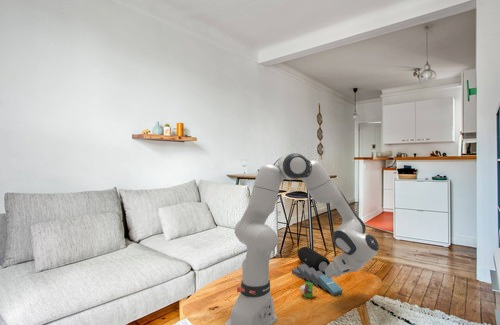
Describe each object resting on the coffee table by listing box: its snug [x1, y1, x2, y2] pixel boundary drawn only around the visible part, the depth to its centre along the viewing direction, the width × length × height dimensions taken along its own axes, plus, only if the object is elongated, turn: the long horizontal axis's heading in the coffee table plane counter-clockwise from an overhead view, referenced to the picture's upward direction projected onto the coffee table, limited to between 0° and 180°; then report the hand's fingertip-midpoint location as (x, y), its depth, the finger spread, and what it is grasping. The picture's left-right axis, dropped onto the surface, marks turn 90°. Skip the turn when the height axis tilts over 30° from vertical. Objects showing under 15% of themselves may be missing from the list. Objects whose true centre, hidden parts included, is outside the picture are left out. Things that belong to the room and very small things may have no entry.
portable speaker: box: [297, 246, 331, 275], centre depth 169 cm, size 26×10×10 cm, turn 16°
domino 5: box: [318, 274, 343, 297], centre depth 139 cm, size 2×6×11 cm
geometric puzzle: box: [299, 280, 317, 299], centre depth 133 cm, size 7×7×8 cm
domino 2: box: [296, 263, 313, 283], centre depth 154 cm, size 2×6×11 cm
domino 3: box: [304, 267, 321, 288], centre depth 148 cm, size 2×6×11 cm
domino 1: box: [291, 267, 307, 281], centre depth 158 cm, size 2×6×11 cm
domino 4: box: [311, 271, 328, 292], centre depth 144 cm, size 2×6×11 cm
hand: (336, 275), depth 135 cm, fingers closed
